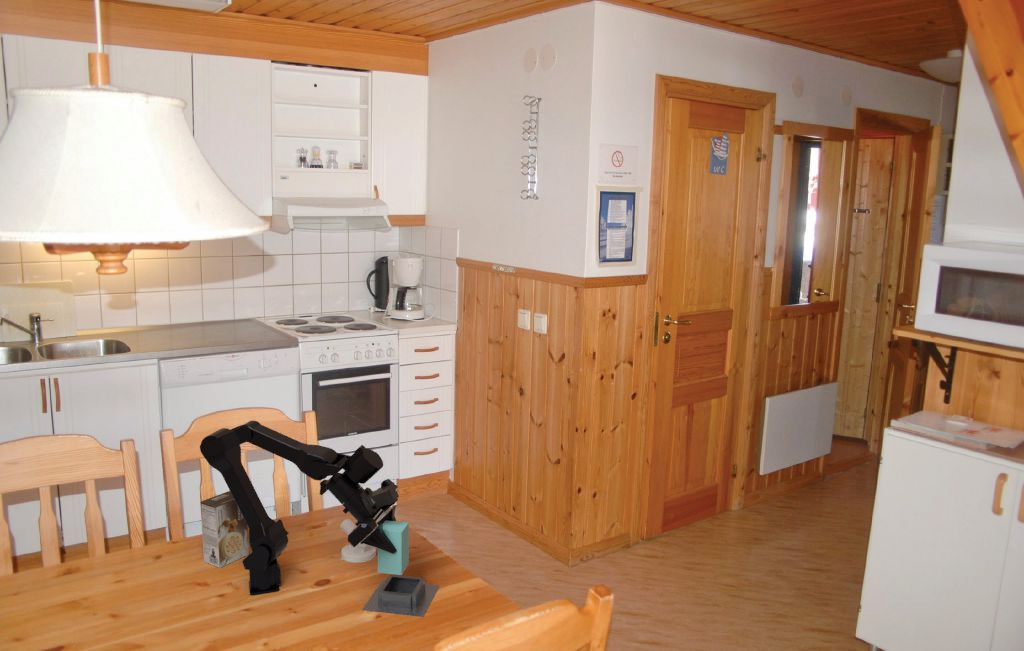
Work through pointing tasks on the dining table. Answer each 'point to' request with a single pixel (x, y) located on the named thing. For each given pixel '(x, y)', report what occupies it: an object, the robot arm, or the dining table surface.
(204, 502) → the coffee box
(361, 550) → the wall hook
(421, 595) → the socket holder
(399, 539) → the teal block
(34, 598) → the dining table surface
